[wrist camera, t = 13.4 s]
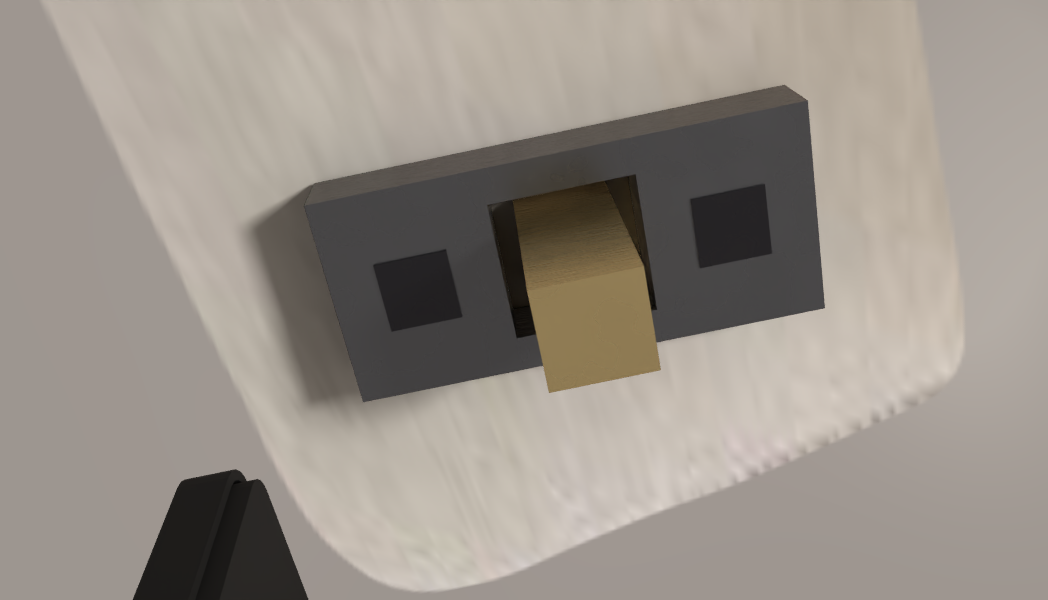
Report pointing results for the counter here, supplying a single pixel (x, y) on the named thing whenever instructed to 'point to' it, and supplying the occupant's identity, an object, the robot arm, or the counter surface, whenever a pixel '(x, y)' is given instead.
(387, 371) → the grey peg hole board
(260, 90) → the counter surface
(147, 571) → the robot arm
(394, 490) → the counter surface
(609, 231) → the brass peg
